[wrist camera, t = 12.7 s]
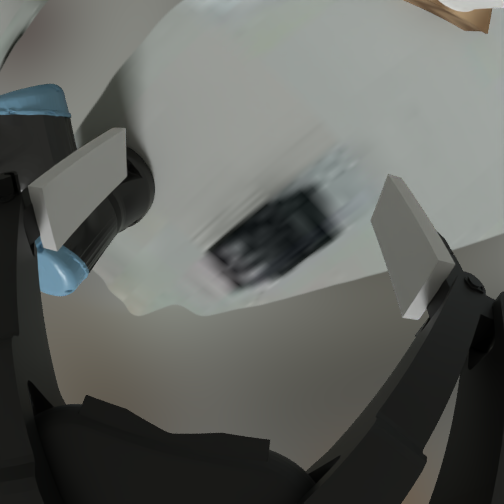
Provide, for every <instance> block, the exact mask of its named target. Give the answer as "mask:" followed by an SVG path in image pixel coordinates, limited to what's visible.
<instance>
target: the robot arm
mask: <svg viewBox="0 0 504 504" xmlns="http://www.w3.org/2000/svg"><path fill="white" fill-rule="evenodd" d="M70 118H71V114H70V113H69V111H68V107H67V104H66V100H65V95H64V92H63V90H62V88H61V87H59V86H58V85H55V84H44V85H38V86H33V87H28V88H24V89H20V90H16V91H13V92H9V93H6V94H3V95H0V504H401V503H402V501H403V500H404V499H405V497H406V496H407V494H408V492H409V491H410V490H411V488H412V486H413V485H414V483H415V482H416V480H417V479H418V477H419V475H420V474H421V472H422V470H423V468H424V466H425V464H426V462H427V457H426V456H425V455H424V454H423V449H424V447H425V445H426V443H427V441H428V440H429V438H430V436H431V434H432V432H433V430H434V429H435V427H436V425H437V423H438V421H439V419H440V417H441V415H442V413H443V411H444V409H445V407H446V404H447V402H448V400H449V398H450V396H451V394H452V391H453V389H454V387H455V384H456V382H457V380H458V377H459V375H460V379H459V387H458V393H457V399H456V405H455V410H454V416H453V421H452V426H451V430H450V434H449V439H448V443H447V447H446V451H445V455H444V458H443V462H442V465H441V469H440V472H439V475H438V478H437V482H436V485H435V488H434V491H433V493H432V496H431V499H430V502H429V504H504V292H501V293H500V295H499V296H498V297H497V299H496V300H494V299H492V298H490V297H488V296H486V291H485V288H484V286H483V285H482V283H481V282H480V281H479V280H478V279H477V278H476V277H475V276H474V275H472V274H470V273H467V272H463V270H462V268H461V266H460V264H459V262H458V261H457V259H456V257H455V256H454V255H453V252H452V250H451V249H450V247H449V245H448V243H447V242H446V240H445V239H444V238H443V237H442V236H441V235H440V234H439V233H438V232H437V231H436V229H435V228H434V226H433V225H432V223H431V221H430V220H429V218H428V217H427V215H426V213H425V212H424V210H423V209H422V207H421V206H420V204H419V203H418V201H417V200H416V198H415V197H414V195H413V194H412V192H411V191H410V189H409V188H408V187H407V185H406V184H405V182H404V181H403V180H402V178H400V177H396V176H393V175H389V174H388V176H387V179H386V181H385V184H384V187H383V190H382V192H381V195H380V198H379V200H378V203H377V205H376V208H375V210H374V213H373V216H372V218H371V223H372V226H373V228H374V231H375V234H376V237H377V239H378V242H379V245H380V248H381V251H382V254H383V257H384V260H385V263H386V266H387V269H388V272H389V275H390V278H391V281H392V284H393V287H394V291H395V294H396V298H397V301H398V305H399V308H400V312H401V315H402V318H409V319H417V320H418V319H419V318H420V317H421V315H422V314H423V313H424V311H425V310H426V309H427V310H428V314H429V318H428V319H427V320H426V322H425V323H424V324H423V326H422V327H421V328H420V330H419V331H418V332H417V333H416V335H415V336H416V338H415V339H414V341H413V343H412V344H411V346H410V347H409V349H408V350H407V352H406V353H405V355H404V356H403V358H402V359H401V361H400V362H399V364H398V365H397V367H396V368H395V370H394V371H393V372H392V374H391V375H390V377H389V378H388V379H387V381H386V382H385V383H384V385H383V386H382V388H381V389H380V390H379V391H378V393H377V394H376V396H375V397H374V398H373V400H372V401H371V402H370V403H369V404H368V406H367V407H366V408H365V410H364V411H363V412H362V413H361V414H360V416H359V417H358V418H357V419H356V420H355V422H354V423H353V424H352V425H351V426H350V427H349V429H348V430H347V431H346V432H345V433H344V434H343V436H342V437H341V438H340V439H339V440H338V441H337V442H336V443H335V444H334V446H333V447H332V448H331V449H330V450H329V451H328V452H327V453H326V454H325V455H323V456H322V457H321V458H320V459H319V460H318V461H317V462H315V463H314V464H313V465H312V466H311V467H310V468H309V469H308V470H307V471H306V472H305V471H304V470H303V469H302V468H301V467H299V466H298V465H297V464H296V463H294V462H293V461H291V460H290V459H288V458H286V457H285V456H282V455H281V454H279V453H276V452H274V451H271V450H269V445H270V440H267V439H259V438H252V437H245V436H238V435H232V434H226V433H207V434H206V433H205V434H172V433H168V432H166V431H164V430H162V429H160V428H158V427H156V426H155V425H153V424H151V423H149V422H147V421H146V420H144V419H142V418H141V417H139V416H137V415H135V414H134V413H132V412H130V411H129V410H127V409H125V408H122V407H119V406H116V405H113V404H110V403H107V402H105V401H102V400H99V399H96V398H94V397H91V396H88V395H86V396H85V399H84V401H83V404H68V405H66V404H65V402H64V400H63V398H62V396H61V394H60V391H59V388H58V385H57V381H56V377H55V373H54V368H53V364H52V360H51V355H50V350H49V346H48V340H47V335H46V329H45V323H44V317H43V309H42V302H41V293H40V291H42V292H44V293H47V294H50V295H54V296H66V295H69V294H70V293H72V292H74V291H75V289H76V288H77V287H78V286H79V285H80V283H81V282H82V281H83V280H84V279H86V277H87V276H88V274H89V273H90V271H91V270H92V268H93V267H94V265H95V264H96V262H97V261H98V259H99V258H100V257H101V255H102V254H103V252H104V251H105V250H106V248H107V247H108V245H109V244H110V243H111V241H112V240H113V238H114V237H115V236H116V235H117V233H119V232H121V231H123V230H125V229H126V228H127V227H130V226H133V225H135V224H136V223H138V222H139V221H140V220H141V219H142V218H143V217H144V216H145V214H146V213H147V212H148V210H149V209H150V207H151V205H152V203H153V200H154V193H155V189H154V181H153V178H152V175H151V172H150V170H149V168H148V166H147V165H146V163H145V162H144V161H143V159H142V158H141V157H140V156H139V155H138V154H137V153H135V152H134V151H133V150H131V149H130V148H128V147H126V128H115V127H113V128H111V129H110V130H108V131H106V132H105V133H103V134H101V135H100V136H98V137H96V138H95V139H93V140H92V141H90V142H89V143H87V144H85V145H84V146H82V147H81V148H79V149H78V150H77V147H76V143H75V139H74V134H73V130H72V125H71V119H70Z"/></svg>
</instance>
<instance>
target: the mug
mask: <svg viewBox="0 0 504 504" xmlns="http://www.w3.org/2000/svg"><path fill="white" fill-rule="evenodd" d="M438 1H440V2H441V3H442V4H444V5H445V6H447V7H449V8H451V9H453V10H456V11H460V12H469V11H472V10H474V9H487V8H504V0H438Z"/></svg>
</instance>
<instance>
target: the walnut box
mask: <svg viewBox="0 0 504 504" xmlns="http://www.w3.org/2000/svg"><path fill="white" fill-rule="evenodd" d="M404 1H407V2H409V3H411V4H413V5H416V6H418V7H420V8H422V9H424V10H427V11H429V12H431V13H433V14H435V15H437V16H439V17H441V18H443V19H445V20H446V21H448V22H450V23H452V24H454V25H456V26H457V27H459V28H461V29H463V30H464V31H482V32H484V33H486V34H488V29H489V24H490V18H491V12H492V8H487V9H474V10H472V11H469V12H460V11H456V10H453V9H451V8H449V7H447V6H445V5H444V4H442V3H441V2H440V1H438V0H404Z"/></svg>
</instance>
